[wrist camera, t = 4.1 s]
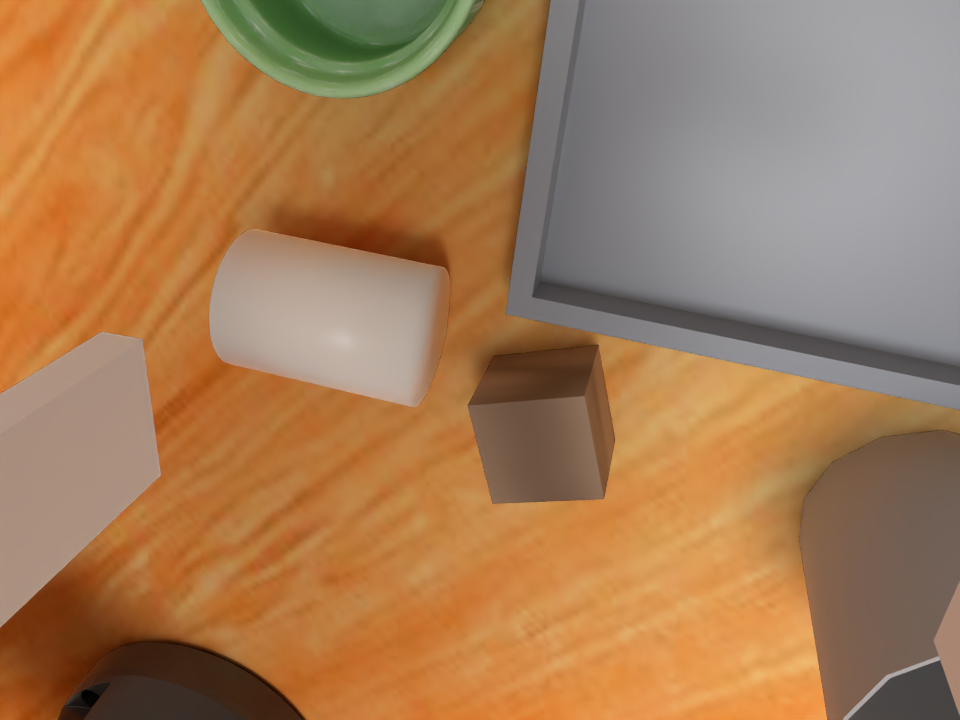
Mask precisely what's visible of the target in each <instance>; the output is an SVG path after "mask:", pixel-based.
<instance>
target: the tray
mask: <svg viewBox="0 0 960 720" xmlns="http://www.w3.org/2000/svg"><path fill="white" fill-rule="evenodd" d="M506 314H508V315H513V316H517V317H522V318H527V319H532V320H536V321H541V322H546V323H551V324H555V325H560V326H565V327H569V328H574V329H579V330H584V331H588V332H593V333H598V334H603V335H607V336H612V337H617V338H621V339H626V340H631V341H636V342H640V343H645V344H650V345H655V346H659V347H664V348H669V349H673V350H678V351H683V352H688V353H692V354H697V355H702V356H707V357H711V358H716V359H721V360H726V361H730V362H735V363H740V364H744V365H749V366H754V367H759V368H763V369H768V370H773V371H778V372H782V373H787V374H792V375H796V376H801V377H806V378H811V379H815V380H820V381H825V382H830V383H834V384H839V385H844V386H848V387H853V388H858V389H863V390H867V391H872V392H877V393H882V394H886V395H891V396H896V397H900V398H905V399H910V400H915V401H919V402H924V403H929V404H934V405H938V406H943V407H948V408H952V409H957V410H960V0H551V2H550V9H549V16H548V23H547V30H546V37H545V44H544V51H543V58H542V65H541V72H540V79H539V85H538V92H537V99H536V106H535V113H534V120H533V127H532V134H531V141H530V148H529V155H528V162H527V169H526V176H525V183H524V190H523V197H522V204H521V211H520V218H519V225H518V231H517V238H516V245H515V252H514V259H513V266H512V273H511V280H510V287H509V294H508V301H507V308H506Z"/></svg>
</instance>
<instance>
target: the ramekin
mask: <svg viewBox="0 0 960 720" xmlns="http://www.w3.org/2000/svg"><path fill="white" fill-rule="evenodd" d="M484 1H485V0H201V2H202V4H203V6H204V7H205V9H206V11H207V13H208V14H209V16H210V18H211V19H212V21H213V22H214V24H215V25H216V27H217V28H218V29H219V30H220V32H221V33H222V34H223V35H224V37H225V38H226V39H227V41H228V42H229V43H230V44H231V45H232V46H233V47H234V48H235V49H236V50H237V51H238V52H239V53H240V54H241V55H242V56H243V57H244V58H245V59H246V60H247V61H249V62H250V63H251V64H252V65H253V66H255V67H256V68H257V69H259V70H260V71H262V72H263V73H265V74H266V75H268V76H269V77H271V78H273V79H274V80H276V81H278V82H279V83H281V84H284V85H286V86H288V87H291V88H293V89H296V90H298V91H301V92H304V93H307V94H311V95H315V96H321V97H327V98H360V97H367V96H371V95H375V94H379V93H382V92H385V91H388V90H391V89H393V88H395V87H397V86H399V85H402V84H404V83H405V82H407V81H409V80H411V79H412V78H414V77H416V76H417V75H418V74H420V73H421V72H423V71H424V70H425V69H426V68H428V67H429V66H430V65H431V64H432V63H433V62H434V61H436V60H437V59H438V58H439V57H440V56H441V55H442V54H443V52H444V51H445V50H446V49H447V48H448V47H449V45H450V44H451V43H452V42H453V41H454V40H455V39H456V38H457V37H458V36H460V34H461V33H462V32H463V31H464V30H465V29H466V28H467V27H468V26H469V25H470V23H471V22H472V20H473V19H474V17H475V16H476V14H477V13H478V11H479V10H480V9H481V7H482V5H483V3H484Z"/></svg>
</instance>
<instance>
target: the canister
mask: <svg viewBox="0 0 960 720" xmlns="http://www.w3.org/2000/svg"><path fill="white" fill-rule="evenodd" d="M449 305H450V278H449V274H448V271H447V269H446V268H445V267H441V266H436V265H431V264H426V263H421V262H416V261H412V260H407V259H402V258H397V257H392V256H387V255H382V254H377V253H372V252H368V251H363V250H358V249H353V248H348V247H343V246H338V245H333V244H328V243H324V242H319V241H314V240H309V239H304V238H299V237H294V236H289V235H284V234H280V233H275V232H270V231H265V230H260V229H250V230H247V231H245V232H244V233H242V234H241V235H240V236H238V237H237V238H236V240H235V241H234V242H233V243H232V244H231V246H230V247H229V249H228V250H227V252H226V254H225V255H224V258H223V260H222V262H221V264H220V266H219V269H218V271H217V275H216V278H215V281H214V285H213V289H212V294H211V300H210V309H209V328H210V336H211V341H212V344H213V347H214V350H215V352H216V354H217V355H218V357H219V358H220V359H221V360H222V361H223V362H225V363H227V364H231V365H236V366H240V367H244V368H248V369H253V370H257V371H261V372H265V373H269V374H274V375H278V376H282V377H286V378H291V379H295V380H299V381H303V382H308V383H312V384H316V385H320V386H325V387H329V388H333V389H337V390H342V391H346V392H350V393H354V394H358V395H363V396H367V397H371V398H375V399H380V400H384V401H388V402H392V403H397V404H401V405H405V406H409V407H416V406H418V405H419V404H420V403H421V402H422V400H423V399H424V397H425V395H426V394H427V392H428V390H429V388H430V385H431V383H432V380H433V378H434V375H435V372H436V369H437V366H438V363H439V360H440V356H441V352H442V349H443V344H444V340H445V335H446V330H447V324H448V315H449Z"/></svg>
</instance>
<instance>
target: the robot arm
mask: <svg viewBox="0 0 960 720" xmlns="http://www.w3.org/2000/svg"><path fill="white" fill-rule="evenodd" d="M160 476H161V471H160V463H159V456H158V449H157V441H156V434H155V427H154V420H153V412H152V405H151V398H150V390H149V383H148V376H147V369H146V361H145V354H144V347H143V339H140V338H134V337H129V336H123V335H118V334H112V333H107V332H100V333H99V334H97V335H96V336H94V337H92V338H91V339H89V340H87V341H86V342H84V343H82V344H81V345H79V346H78V347H76V348H74V349H73V350H71V351H69V352H68V353H66V354H65V355H63V356H61V357H60V358H58V359H56V360H55V361H53V362H52V363H50V364H48V365H47V366H45V367H43V368H42V369H40V370H38V371H37V372H35V373H34V374H32V375H30V376H29V377H27V378H25V379H24V380H22V381H21V382H19V383H17V384H16V385H14V386H12V387H11V388H9V389H7V390H6V391H4V392H3V393H1V394H0V627H1V626H3V625H4V624H5V623H6V622H7V621H8V620H9V619H10V618H11V617H12V616H13V615H14V614H15V613H16V612H17V611H18V610H19V609H20V608H22V607H23V606H24V605H25V604H26V603H27V602H28V601H29V600H30V599H31V598H32V597H33V596H34V595H35V594H36V593H37V592H38V591H39V590H41V589H42V588H43V587H44V586H45V585H46V584H47V583H48V582H49V581H50V580H51V579H52V578H53V577H54V576H55V575H56V574H57V573H58V572H60V571H61V570H62V569H63V568H64V567H65V566H66V565H67V564H68V563H69V562H70V561H71V560H72V559H73V558H74V557H75V556H76V555H77V554H79V553H80V552H81V551H82V550H83V549H84V548H85V547H86V546H87V545H88V544H89V543H90V542H91V541H92V540H93V539H94V538H95V537H96V536H98V535H99V534H100V533H101V532H102V531H103V530H104V529H105V528H106V527H107V526H108V525H109V524H110V523H111V522H112V521H113V520H114V519H115V518H117V517H118V516H119V515H120V514H121V513H122V512H123V511H124V510H125V509H126V508H127V507H128V506H129V505H130V504H131V503H132V502H133V501H134V500H136V499H137V498H138V497H139V496H140V495H141V494H142V493H143V492H144V491H145V490H146V489H147V488H148V487H149V486H150V485H151V484H152V483H153V482H155V481H156V480H157V479H158V478H159V477H160ZM934 643H935V646H936V649H937V652H938V655H939V658H940V661H941V664H942V666H943V669H944V672H945V675H946V678H947V681H948V684H949V687H950V690H951V692H952V695H953V698H954V701H955V704H956V707H957V710H958V713H959V716H960V581H959V584H958V586H957V588H956V591H955V593H954V595H953V597H952V600H951V602H950V604H949V606H948V609H947V611H946V613H945V616H944V618H943V620H942V622H941V625H940V627H939V629H938V631H937V634H936V636H935V638H934ZM58 720H302V719H301V718H300V717H299V716H298V715H297V713H296V712H295V711H294V710H293V709H292V708H291V707H290V706H289V705H288V704H287V703H286V702H285V701H284V700H283V699H282V698H281V697H280V696H279V695H278V694H276V693H275V692H274V691H273V690H272V689H270V688H269V687H268V686H267V685H265V684H264V683H263V682H261V681H260V680H258V679H257V678H255V677H254V676H252V675H251V674H249V673H248V672H246V671H244V670H243V669H241V668H239V667H237V666H235V665H233V664H231V663H229V662H227V661H225V660H223V659H221V658H219V657H216V656H214V655H211V654H209V653H206V652H203V651H200V650H197V649H193V648H190V647H186V646H181V645H176V644H169V643H159V642H146V643H135V644H130V645H126V646H123V647H119V648H117V649H115V650H113V651H111V652H109V653H107V654H106V655H105V656H103V657H102V658H101V659H100V660H99V661H98V662H97V663H96V664H95V665H94V666H93V667H92V669H91V670H90V671H89V672H88V673H87V674H86V676H85V677H84V678H83V679H82V680H81V681H80V683H79V684H78V685H77V686H76V687H75V688H74V690H73V691H72V692H71V694H70V695H69V697H68V699H67V700H66V702H65V704H64V706H63V708H62V710H61V713H60V715H59V717H58Z"/></svg>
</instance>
